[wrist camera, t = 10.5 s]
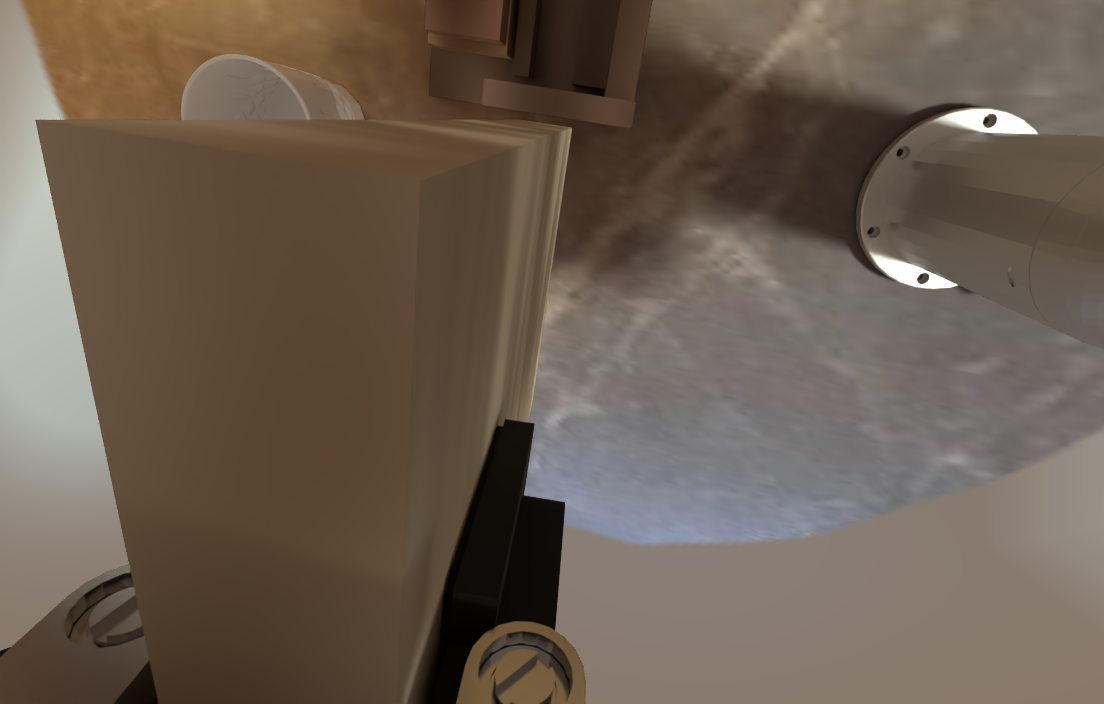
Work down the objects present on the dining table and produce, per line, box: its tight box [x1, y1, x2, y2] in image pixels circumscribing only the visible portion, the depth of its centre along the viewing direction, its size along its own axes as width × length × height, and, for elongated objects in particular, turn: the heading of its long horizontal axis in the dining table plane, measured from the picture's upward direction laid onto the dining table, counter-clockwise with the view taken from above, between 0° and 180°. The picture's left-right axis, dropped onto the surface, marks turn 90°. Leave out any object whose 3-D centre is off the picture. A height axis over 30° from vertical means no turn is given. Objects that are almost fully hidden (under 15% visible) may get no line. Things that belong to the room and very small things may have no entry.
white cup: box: [181, 54, 365, 120], centre depth 37 cm, size 8×8×10 cm
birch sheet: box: [36, 120, 572, 704], centre depth 14 cm, size 2×12×20 cm, turn 172°
